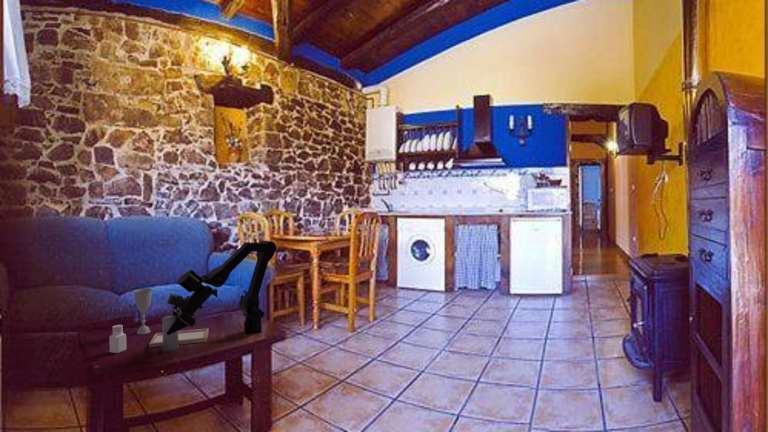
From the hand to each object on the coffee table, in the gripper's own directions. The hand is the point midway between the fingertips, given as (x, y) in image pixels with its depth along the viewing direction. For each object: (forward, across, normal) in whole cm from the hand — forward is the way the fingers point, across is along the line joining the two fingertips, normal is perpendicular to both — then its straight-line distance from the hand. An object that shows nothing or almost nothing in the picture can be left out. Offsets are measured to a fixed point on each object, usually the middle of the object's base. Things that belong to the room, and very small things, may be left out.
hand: (166, 332), depth 152 cm
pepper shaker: (+15, -8, -6) cm, 19 cm away
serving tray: (0, -10, +9) cm, 14 cm away
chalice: (+9, -29, +1) cm, 30 cm away
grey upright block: (+4, 0, +6) cm, 7 cm away
